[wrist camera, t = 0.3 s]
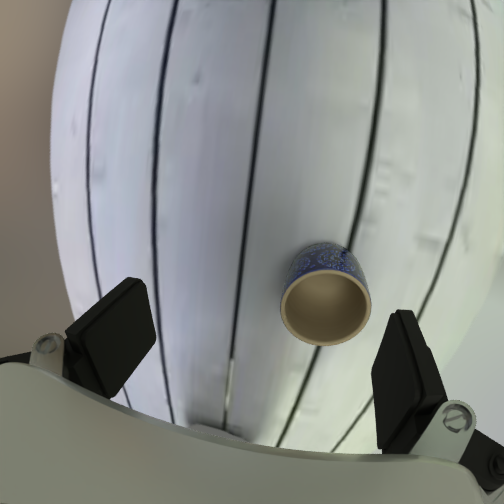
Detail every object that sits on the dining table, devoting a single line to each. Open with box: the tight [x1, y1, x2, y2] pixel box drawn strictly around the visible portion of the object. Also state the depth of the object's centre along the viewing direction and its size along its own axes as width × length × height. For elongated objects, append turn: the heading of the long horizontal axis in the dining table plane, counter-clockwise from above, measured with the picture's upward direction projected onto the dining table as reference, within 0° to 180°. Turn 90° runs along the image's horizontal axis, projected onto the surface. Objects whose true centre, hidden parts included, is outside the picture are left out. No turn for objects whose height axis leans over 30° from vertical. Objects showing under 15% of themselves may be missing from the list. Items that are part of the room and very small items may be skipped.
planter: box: [280, 243, 371, 346], centre depth 36 cm, size 11×11×11 cm
